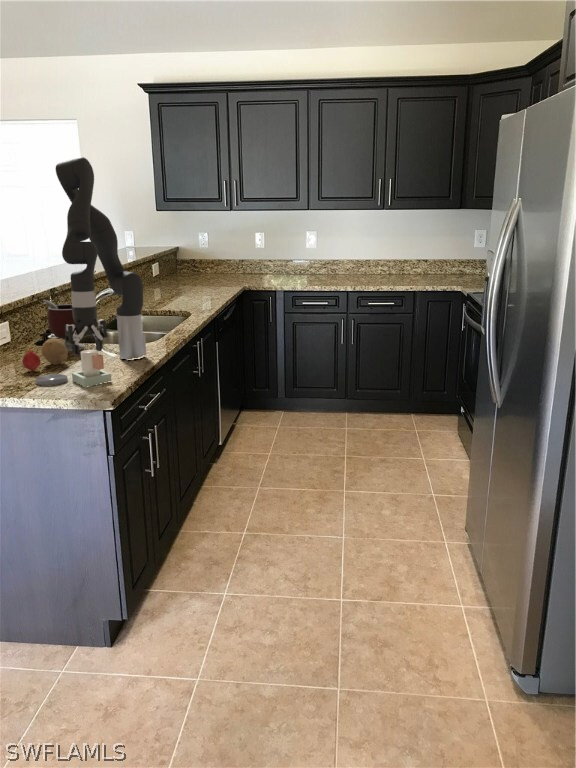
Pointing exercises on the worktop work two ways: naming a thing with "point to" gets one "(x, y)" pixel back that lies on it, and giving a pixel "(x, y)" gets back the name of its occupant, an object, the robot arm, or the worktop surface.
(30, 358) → the onion
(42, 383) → the coaster
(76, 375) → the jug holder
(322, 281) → the worktop surface
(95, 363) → the jug
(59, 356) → the natural sponge
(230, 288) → the worktop surface
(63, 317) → the mate gourd
